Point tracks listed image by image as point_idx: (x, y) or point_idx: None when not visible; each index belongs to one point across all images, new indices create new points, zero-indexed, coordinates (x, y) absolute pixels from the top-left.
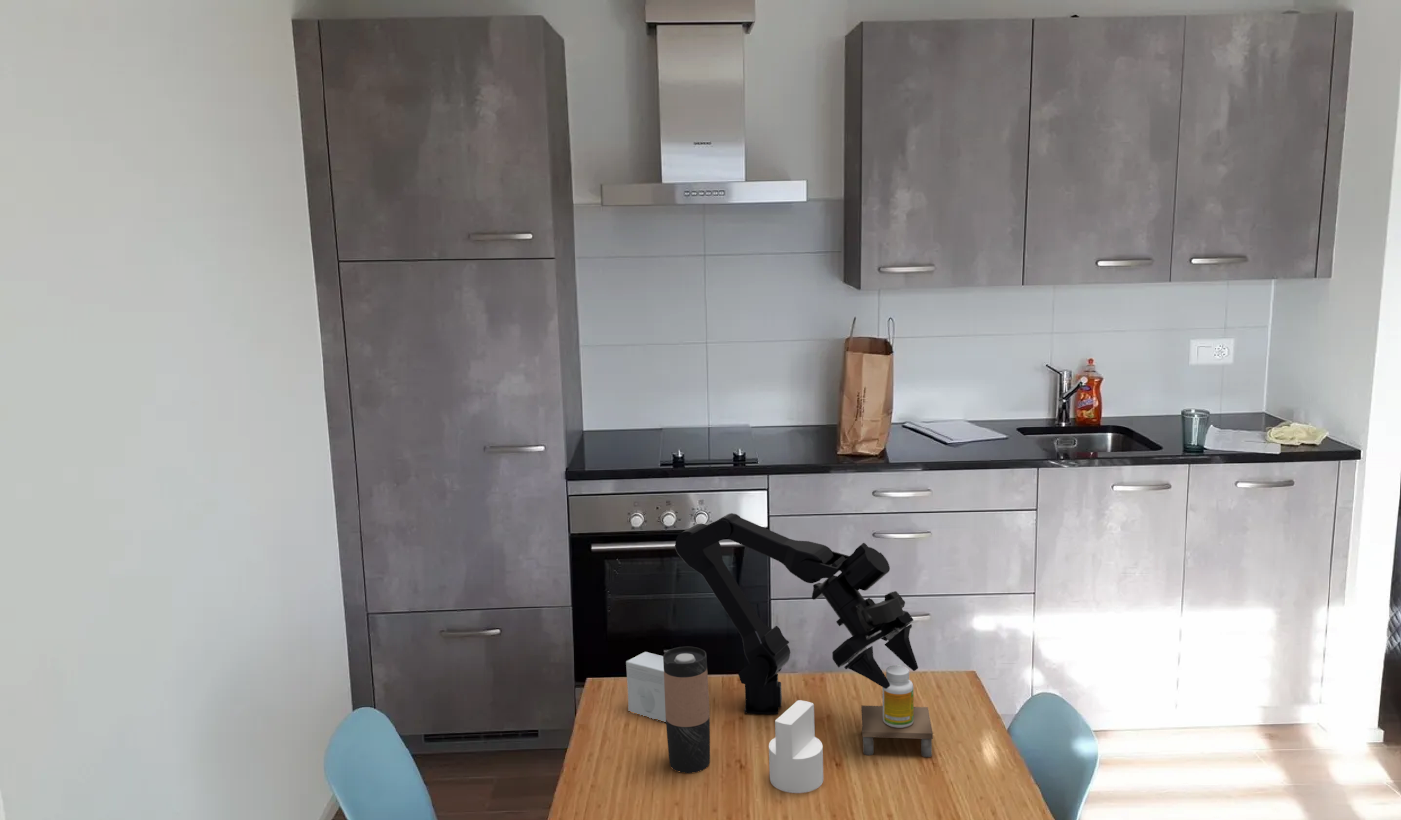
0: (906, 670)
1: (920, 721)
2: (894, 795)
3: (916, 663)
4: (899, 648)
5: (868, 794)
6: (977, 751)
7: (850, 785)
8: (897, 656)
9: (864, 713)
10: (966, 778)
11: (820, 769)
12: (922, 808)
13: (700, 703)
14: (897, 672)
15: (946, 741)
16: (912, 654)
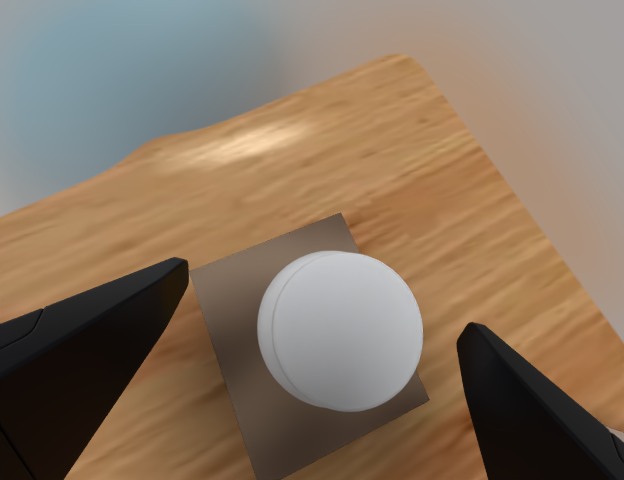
0: (327, 271)
1: (288, 262)
2: (506, 254)
3: (159, 265)
4: (41, 435)
5: (535, 302)
6: (264, 161)
7: (529, 352)
8: (98, 426)
9: (314, 449)
10: (375, 155)
11: (614, 433)
12: (513, 195)
13: None
14: (385, 313)
15: (247, 227)
16: (105, 294)
